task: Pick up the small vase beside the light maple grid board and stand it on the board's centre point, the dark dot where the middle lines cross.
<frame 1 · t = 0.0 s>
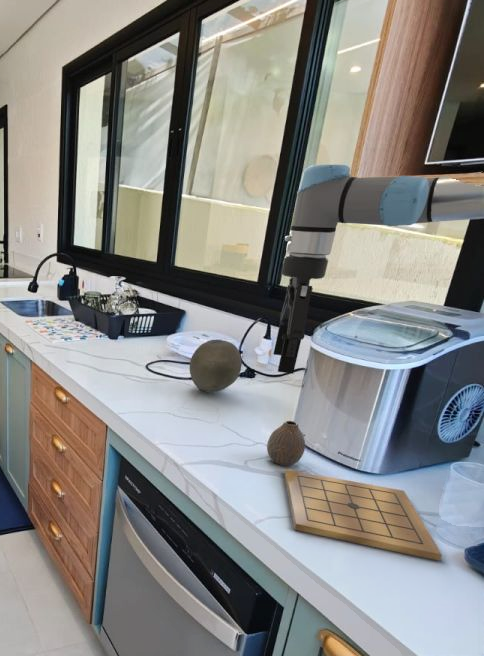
hand: (282, 363, 103), 19 cm above the countertop, tool pointing down, fingers open, 13 cm apart
cantaloupe: (210, 392, 144), on the countertop
vase: (281, 462, 105), on the countertop
board: (351, 511, 88), on the countertop
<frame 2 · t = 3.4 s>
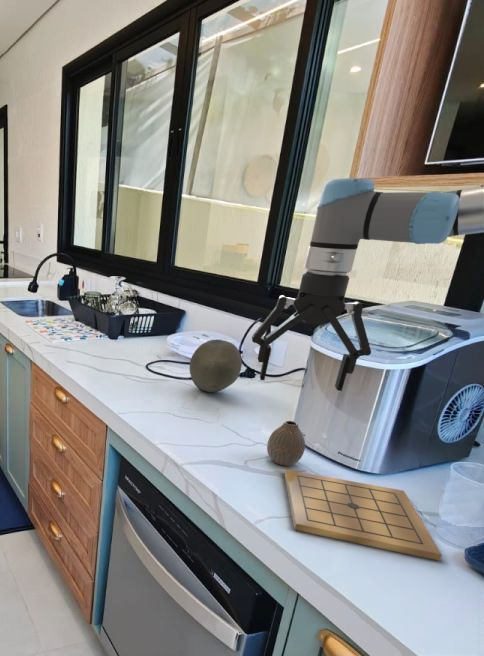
hand: (299, 383, 99), 17 cm above the countertop, tool pointing down, fingers open, 13 cm apart
nothing on the countertop moved.
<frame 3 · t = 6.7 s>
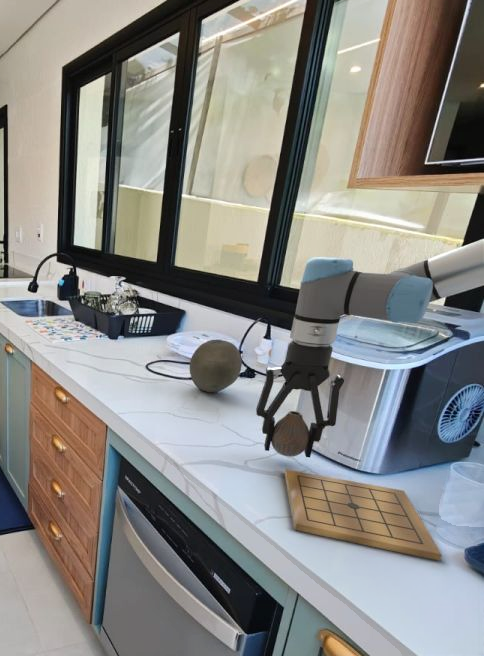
hand: (286, 451, 104), 3 cm above the countertop, tool pointing down, fingers closed on vase, 7 cm apart
vase: (286, 453, 104), point 2 cm above the countertop, touching gripper
everything else where it was.
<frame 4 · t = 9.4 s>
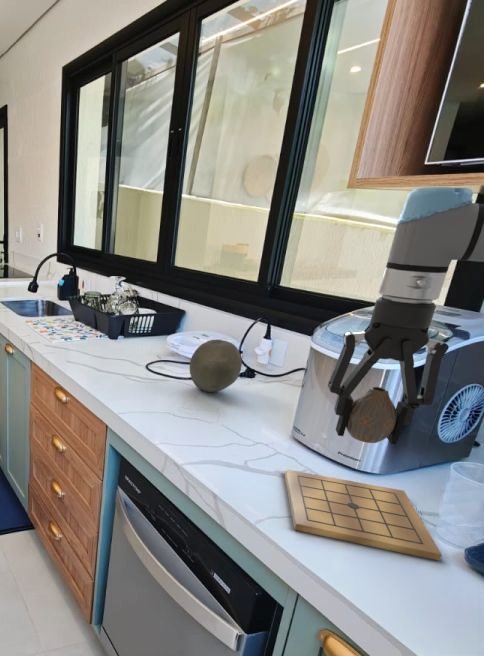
hand: (364, 436, 84), 14 cm above the countertop, tool pointing down, fingers closed on vase, 7 cm apart
vase: (364, 439, 85), point 13 cm above the countertop, touching gripper
everything else where it was.
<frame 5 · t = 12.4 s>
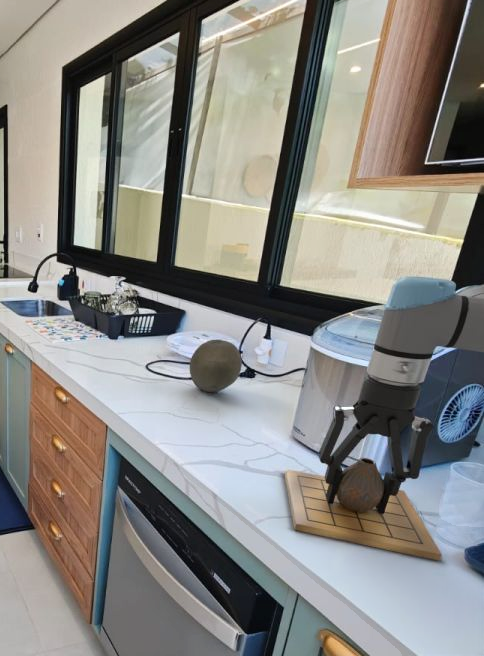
hand: (353, 504, 87), 2 cm above the countertop, tool pointing down, fingers closed on vase, 7 cm apart
vase: (353, 506, 87), point 1 cm above the countertop, touching gripper
everything else where it was.
when the fingers open (2 cm above the countertop, at t = 12.4 s): vase stays where it is, resting on board.
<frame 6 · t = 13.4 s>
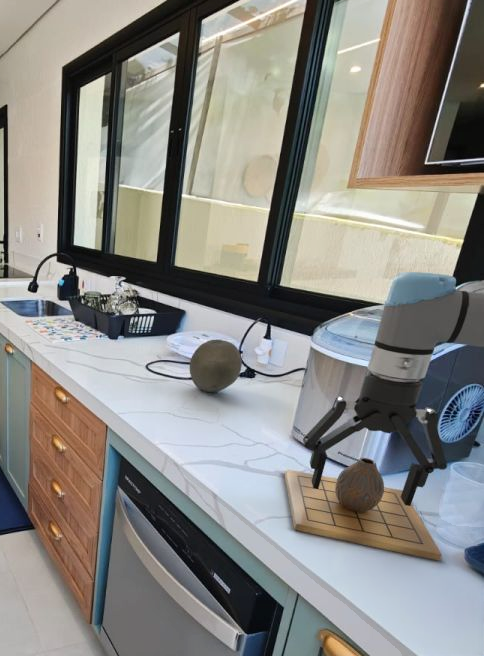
hand: (358, 493, 86), 4 cm above the countertop, tool pointing down, fingers open, 13 cm apart
vase: (353, 506, 87), point 1 cm above the countertop, touching board
everything else where it was.
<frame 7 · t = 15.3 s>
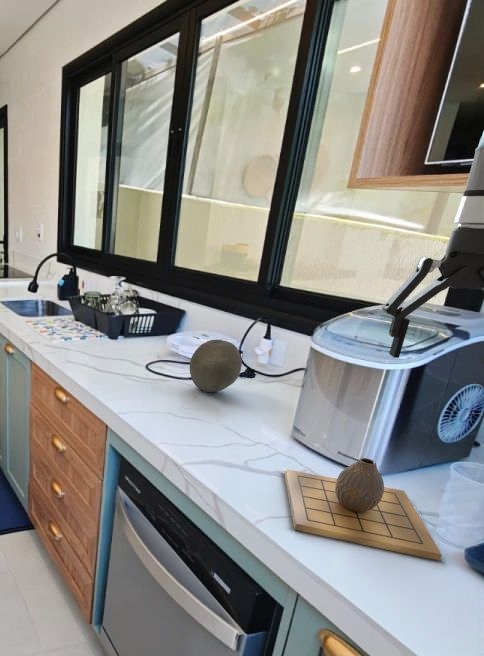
hand: (440, 360, 85), 26 cm above the countertop, tool pointing down, fingers open, 13 cm apart
nothing on the countertop moved.
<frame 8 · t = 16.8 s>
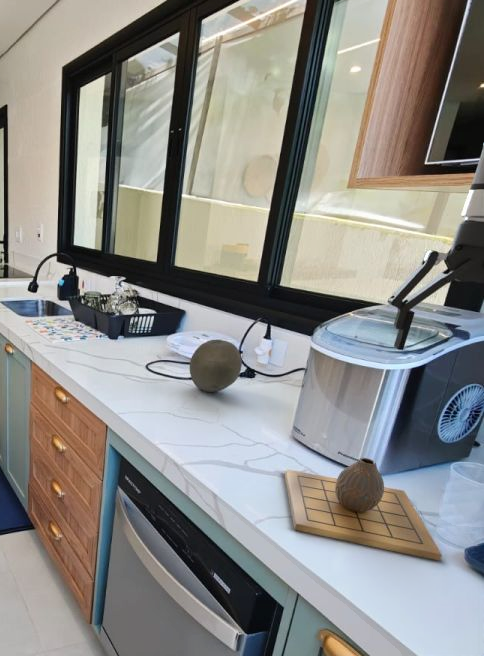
hand: (444, 353, 86), 27 cm above the countertop, tool pointing down, fingers open, 13 cm apart
nothing on the countertop moved.
at the end: vase 0.0 cm off-centre on the board, point 1.1 cm above the board's base; vase tilted 0°; the gripper is holding nothing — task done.
